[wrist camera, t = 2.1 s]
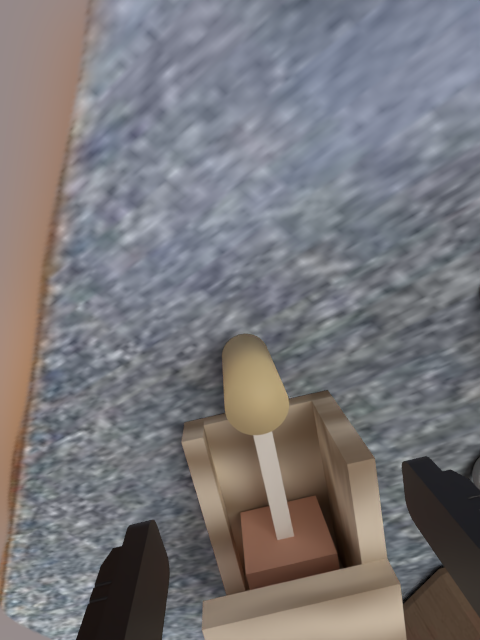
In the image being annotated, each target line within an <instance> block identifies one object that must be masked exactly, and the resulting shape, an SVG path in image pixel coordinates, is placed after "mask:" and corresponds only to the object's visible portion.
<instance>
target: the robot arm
mask: <svg viewBox="0 0 480 640" xmlns="http://www.w3.org/2000/svg"><path fill="white" fill-rule="evenodd" d="M402 473H403V483H404V492H405V501H406V505H407V508H408V511H409V513H410V516H411V518H412V520H413V521H414V523H415V525H416V526H417V527H418V529H419V530H420V532H421V533H422V535H423V536H424V538H425V539H426V541H427V542H428V543H429V545H430V546H431V548H432V549H433V551H434V552H435V554H436V555H437V557H438V558H439V559H440V561H441V562H442V564H443V565H444V567H445V568H446V570H447V571H448V573H449V574H450V576H451V577H452V578H453V580H454V581H455V583H456V584H457V586H458V587H459V589H460V590H461V592H462V593H463V594H464V596H465V597H466V599H467V600H468V602H469V603H470V605H471V606H472V608H473V609H474V610H475V612H476V613H477V615H478V616H479V618H480V490H479V489H478V488H477V487H476V486H475V485H474V484H473V483H472V482H471V481H470V480H469V479H467V478H465V477H464V476H462V475H460V474H458V473H456V472H454V471H453V470H447V471H442V470H441V469H440V468H439V467H438V466H437V465H436V464H435V463H434V462H433V461H432V460H431V459H430V458H429V457H427V456H425V457H421V458H416V459H412V460H408V461H404V462H403V463H402ZM169 576H170V572H169V561H168V557H167V553H166V550H165V548H164V545H163V542H162V539H161V536H160V533H159V530H158V527H157V524H156V522H155V521H154V520H149V521H145V522H141V523H136V524H132V525H129V527H128V528H127V531H126V535H125V538H124V542H123V545H122V546H120V547H116V548H113V549H112V551H111V552H110V553H109V555H108V556H107V558H106V559H105V561H104V562H103V564H102V565H101V567H100V570H99V573H98V576H97V579H96V582H95V588H93V591H92V594H91V597H90V600H89V601H90V603H89V604H88V606H87V609H86V612H85V615H84V618H83V621H82V624H81V626H80V629H79V632H78V635H77V638H76V640H162V633H163V625H164V617H165V610H166V602H167V594H168V586H169Z"/></svg>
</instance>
